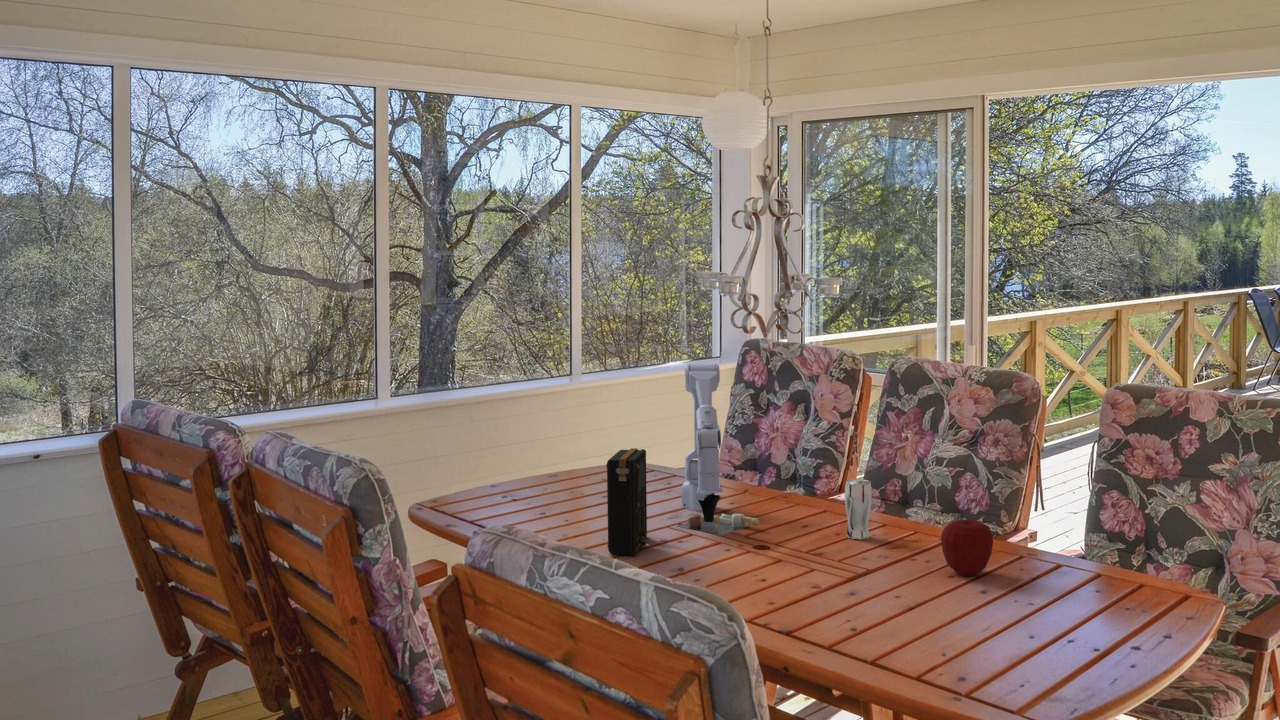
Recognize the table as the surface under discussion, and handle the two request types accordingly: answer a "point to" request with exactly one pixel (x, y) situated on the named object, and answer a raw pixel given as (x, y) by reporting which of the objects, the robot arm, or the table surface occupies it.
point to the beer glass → (858, 508)
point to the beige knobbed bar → (699, 520)
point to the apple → (967, 546)
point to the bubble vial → (726, 519)
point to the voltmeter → (627, 501)
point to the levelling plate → (713, 528)
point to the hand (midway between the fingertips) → (708, 521)
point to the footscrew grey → (743, 520)
